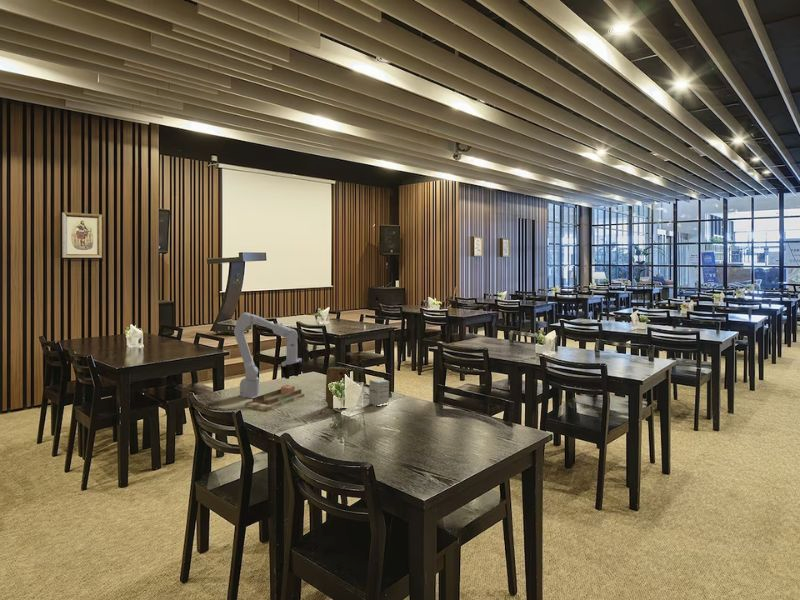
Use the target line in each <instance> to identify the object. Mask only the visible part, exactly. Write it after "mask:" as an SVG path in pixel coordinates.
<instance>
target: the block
mask: <svg viewBox="0 0 800 600" xmlns="http://www.w3.org/2000/svg"><path fill="white" fill-rule="evenodd" d="M347 371H348V370H347V368H345V367H342V366H330V367H328V368H327V369H326V376H325V377H326V379H325V382H326V383H325V402H326V403H327V408H330V409H331V410H334V409H333V394H332V392H331V391H330V390H329V388H328V384H329V383H331V382H335V381H338V380H342V378H343V376H344V374H346V375H347V376H348V377H349V374H348V372H347Z"/></svg>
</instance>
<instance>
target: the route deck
mask: <svg viewBox="0 0 800 600" xmlns="http://www.w3.org/2000/svg"><path fill="white" fill-rule="evenodd" d="M303 397H304V398H305V393H302V389H297V390H296V389H295V391H294V392H291V393H288V394H285V395H281V388H280V389H277V390H273V391H270V392H268V393H264V394H262V395H261V396H258V397H255V398H252V400H250V401H247V402H245V404H244V406H246V407H245V408H248V407H251V408H250V409H253V408H256V409H255V410H259V409H261V410H260V411H264V410H266V411H265V412H269V410H270V411H272V409H273V410H276V409H278V408H280V406H281V407H284V406H286V405H287V404H291V403H293V401H294V402H297V401H298V399H299V400H301V399H300V398H302V399H304V398H303ZM285 404H286V405H285ZM277 407H278V408H277Z"/></svg>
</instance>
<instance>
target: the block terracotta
mask: <svg viewBox="0 0 800 600" xmlns="http://www.w3.org/2000/svg"><path fill="white" fill-rule="evenodd" d="M280 389H281V395H285V394H288V393H291V392H294V391H296V386H295V385H289V384H285V385H283V386H280Z"/></svg>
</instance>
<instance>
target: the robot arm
mask: <svg viewBox="0 0 800 600" xmlns="http://www.w3.org/2000/svg"><path fill="white" fill-rule="evenodd" d="M250 325H260V326H262V327H265V328H267V329H270V330H272V332H273V334H275V335H277V336H280V337H282V338H284V339H285V338H286V350H285V351H286V353H285V354H286V357H285V358H286V359H285V360H284V361H282V362H281V365H280V369H281V370H282V372H283V374H284V379H286V380H289V379H290V375H291V369H292V368H293V376H294V377H299V374H300V370H301V368H302V366H303V362H302V360H303V359H302V358H301V357H298V338H299V335H298V331H297V330H296V329H294V328H292V327H291V326H289V327H288V326H286V325H284V323H282V322H281V323H279V322H277V323H274V322H271V321H269V320H268V319H265V318H263V317H261V316H259V315H256V314H254V313H251V312H248V311H245V312H243V313H241V315H240V316H239V317H238V319H237V320H236V323H235V326H234V329H233V333H234V336H235V340H236V344H237V346H238V349H239V352H240V353H239V354H240V355H241V359H242V362H243V366H244V371H245V373H244V376H245V378H242V379H241V380H240V383H239V395H238V397H241V396H242V397H241V398H246V397H247V399H253V398H255V397H258V396H261V395H263V394H262V393H260V377H258V376H259V375H258V374H259V368H258V367H257V365H256V364H255V362H254V360H253V356H252V353H251V351H250V347H249V345H248V340H247V337H246V334H245V330H246V329H247V327H249V326H250ZM289 365H290V366H289ZM291 365H292V366H291Z"/></svg>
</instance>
